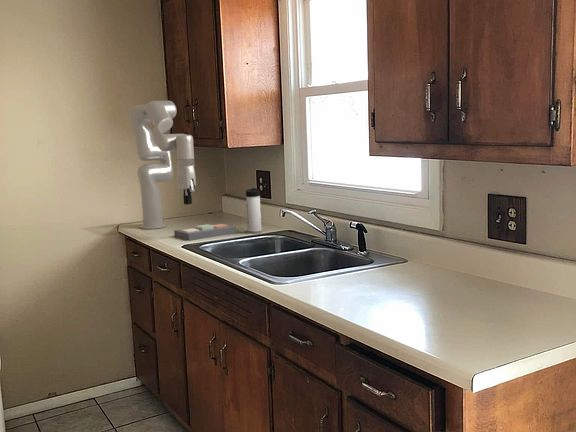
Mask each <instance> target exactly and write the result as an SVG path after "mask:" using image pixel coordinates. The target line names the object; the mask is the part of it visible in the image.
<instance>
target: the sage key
mask: <svg viewBox="0 0 576 432" xmlns="http://www.w3.org/2000/svg"><path fill="white" fill-rule="evenodd" d="M195 227H196V229H199V230H208V229H214V226H213V224H207V223H206V224H201V225H195Z"/></svg>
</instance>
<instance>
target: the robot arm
mask: <svg viewBox="0 0 576 432" xmlns="http://www.w3.org/2000/svg"><path fill="white" fill-rule="evenodd" d="M128 116H129V123H130V125H131V128H132V130H133V133H134V136H135V143H136V151H137V157H138V159H139V160H140V161H142V162H151V163H144V164H141V165H140V166H139V167H138V168H137V178H138V181H139V187H140V197H141V209H142V223H143V224H141V225H140V229H142V230H155V229H156V230H157V229H161V228H162V229H163V228H166V227H167V223H165V222H164V221H163V220H164V219H163V205H162V192H161V190H160V188H159V186H158V185H157V183H163V182H165V183H166V182H169V181H171V180H173V178H174V167H173V162H172V154H171V152H175V151H176V187H177V188H178V189H180V190H181V192H182V196H183V205H187V206H188V205H193V200H192V199H193V198H192V196H193V192H195V189H196V186H197V181H196V170H195V153H194V151H195V150H194V137H193V135H191V134H185V133H169V134H164V133H166V132H168V131H170V130H171V128H172V127H173V124H174V120H173V119H174V118H175V117H176V116H177V105H175V103H174V102H173V101H171V100H152V101H149V102H147V103H146V104H141V105H140V104H138V105H134V106H133V107H131V108H130V109H129V114H128ZM146 123H152V125H153V126H154V127H153V129H151V128H150V127H149V126H148V125H147V124H146ZM152 161H153V162H152ZM154 161H158V162H157V163H156V162H155V163H154Z"/></svg>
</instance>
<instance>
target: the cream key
mask: <svg viewBox="0 0 576 432" xmlns="http://www.w3.org/2000/svg"><path fill="white" fill-rule="evenodd" d="M190 228H191V229H186V228H183V229H184V230H181V231H182V232H186V233H188V232H195V231H199V230H198V229H194V228H193V227H190Z"/></svg>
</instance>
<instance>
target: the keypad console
mask: <svg viewBox="0 0 576 432" xmlns="http://www.w3.org/2000/svg"><path fill="white" fill-rule="evenodd" d="M218 224H219V223H215V224H214V223H213V224H212V225H218ZM227 225H228V224H227ZM191 228H194V229H196V226H193V227H187V228H181V229H180V228H179V229H174V230H173V233H174V237H175V238H177V237H178V238H179V239H182V240H185V241H188V240H189V242H190V241H191V242H192V241H195V240H202V239H208V238H215V237H220V236H228V235H233V234H236V233H237V229H236V226H233V225H228V226H227V227H221V228H214V229H208V230H199V229H198V230H199V231H195V232H188V233H186V232H182V231H181V230H184V229H191ZM178 238H177V239H178Z"/></svg>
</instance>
